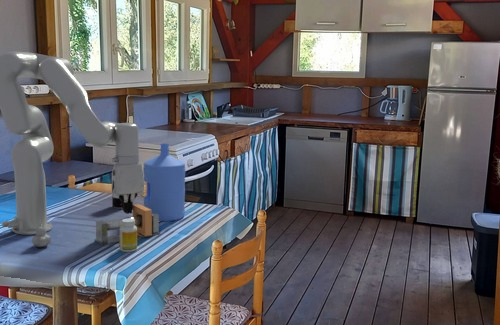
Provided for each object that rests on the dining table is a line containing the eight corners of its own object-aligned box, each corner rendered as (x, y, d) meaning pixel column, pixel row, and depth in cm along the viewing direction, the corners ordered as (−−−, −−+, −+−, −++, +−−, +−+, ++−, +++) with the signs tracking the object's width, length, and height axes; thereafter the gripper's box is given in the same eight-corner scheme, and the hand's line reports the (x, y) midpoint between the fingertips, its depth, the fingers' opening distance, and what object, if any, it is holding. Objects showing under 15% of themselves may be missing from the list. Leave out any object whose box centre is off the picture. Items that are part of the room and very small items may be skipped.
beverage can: (109, 207, 211) (108, 171, 208) (117, 203, 217) (116, 168, 214) (124, 209, 209) (124, 172, 206) (131, 205, 215) (131, 169, 213)
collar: (145, 236, 176) (145, 210, 174) (132, 229, 182) (132, 204, 181) (151, 235, 177) (151, 209, 175) (139, 228, 184) (139, 203, 182)
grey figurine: (49, 242, 169) (48, 218, 167) (52, 249, 163) (51, 224, 162) (31, 244, 166) (30, 220, 165) (33, 251, 160) (32, 226, 159)
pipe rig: (102, 245, 168) (101, 224, 166) (94, 240, 172) (94, 219, 171) (160, 234, 181) (160, 214, 180) (151, 229, 185) (151, 210, 184)
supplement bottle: (116, 249, 165) (116, 219, 163) (130, 245, 169) (130, 216, 167) (126, 253, 161) (125, 223, 160) (140, 249, 165) (140, 220, 164)
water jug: (190, 213, 207) (191, 143, 202) (174, 224, 193) (175, 148, 187) (154, 208, 211) (154, 140, 206) (136, 219, 197) (135, 145, 192)
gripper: (111, 163, 169) (111, 218, 172) (152, 159, 178) (152, 212, 181) (101, 160, 174) (102, 213, 178) (142, 156, 184) (142, 207, 187)
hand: (127, 212), depth 180 cm, fingers closed
